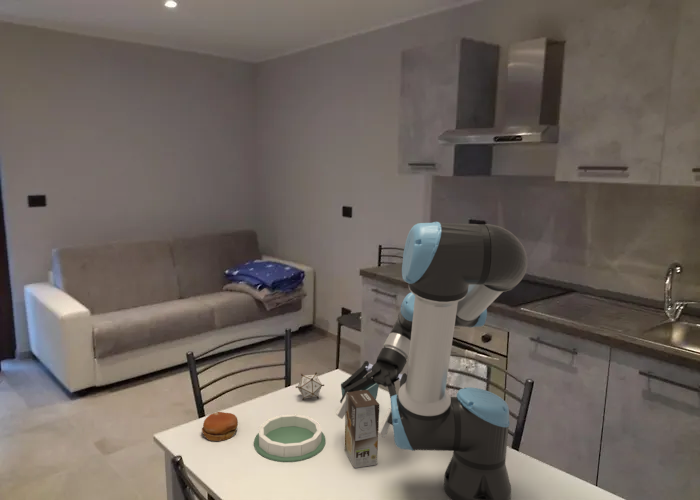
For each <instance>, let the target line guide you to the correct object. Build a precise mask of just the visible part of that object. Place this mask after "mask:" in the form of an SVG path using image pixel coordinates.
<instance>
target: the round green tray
mask: <svg viewBox="0 0 700 500" xmlns="http://www.w3.org/2000/svg"><path fill="white" fill-rule="evenodd" d="M253 445H254V447H253V448H254V450H255V451H256V452H257V453H258V454H259V455H260V456H261V457H264V458H265V459H267V460H271V461H274V462H278V463H279V462H281V463H293V462H294V463H295V462H301V461H304V460H308V459H311V458H313V457H315V456H316V455H318V454H319V453H321V452H322V451H323V449H324V448H325V445H326V436H325V433H323V430H322V427H321V424H320V422H318V421H317V420H315V419H314V418H312V417H311V416H307V415H303V414H295V413H294V414H279V415H277V416H274V417H271V418H269V419H266V420H265V421H264V422H263V423H261V425H260V426H259V427H258V433H257V434H256V435H255V437H254V441H253Z"/></svg>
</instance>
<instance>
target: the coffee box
mask: <svg viewBox="0 0 700 500" xmlns="http://www.w3.org/2000/svg"><path fill="white" fill-rule="evenodd" d="M344 416H345V418H344V419H345V420H344V452H345V454H346V455H347V457H348V459H349V461H350V463H351V464H352V466H353V468H354V469H356V468H357V469H358V468H363V467H364V468H365V467H368V466H369V467H370V466H376V465H377V464H378V449H379V448H378V447H379V433H378V431H379V429H380V426H379V423H380V422H379V421H380V403H379V402H378V400H377V399H376V400H375V398H374V397H373V396H372V395H371V393H370V392H369V391H368V390H360V391H353V392H346V408H345V415H344Z"/></svg>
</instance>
